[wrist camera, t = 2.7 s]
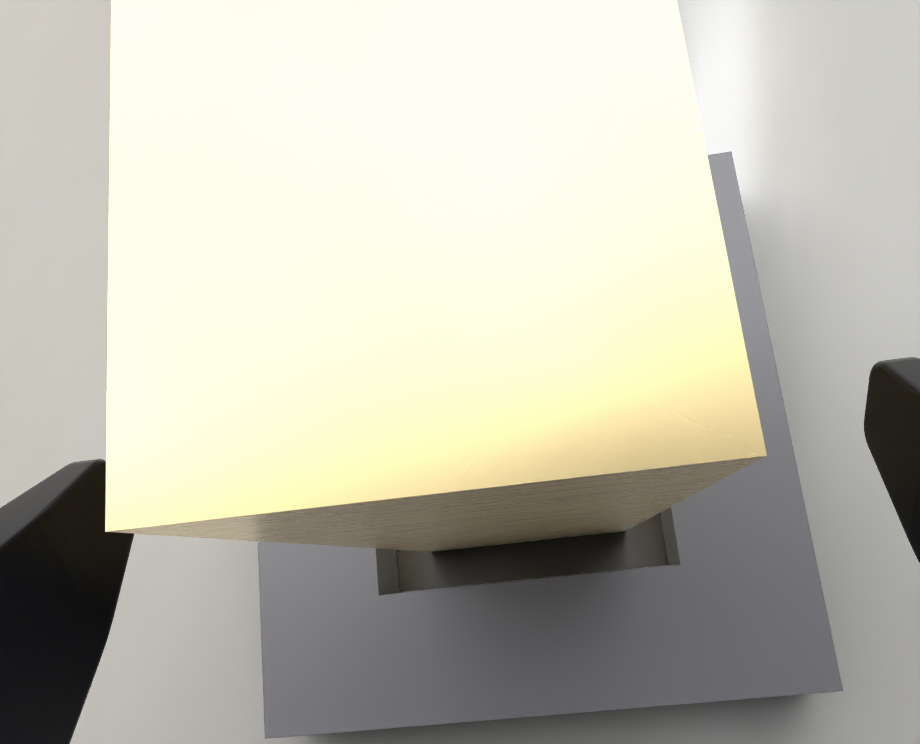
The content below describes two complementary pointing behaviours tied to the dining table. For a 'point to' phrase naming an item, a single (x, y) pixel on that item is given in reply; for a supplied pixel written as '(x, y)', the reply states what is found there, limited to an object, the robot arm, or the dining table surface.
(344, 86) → the pale yellow block
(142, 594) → the dining table surface
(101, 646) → the robot arm
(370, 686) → the socket block
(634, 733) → the dining table surface
